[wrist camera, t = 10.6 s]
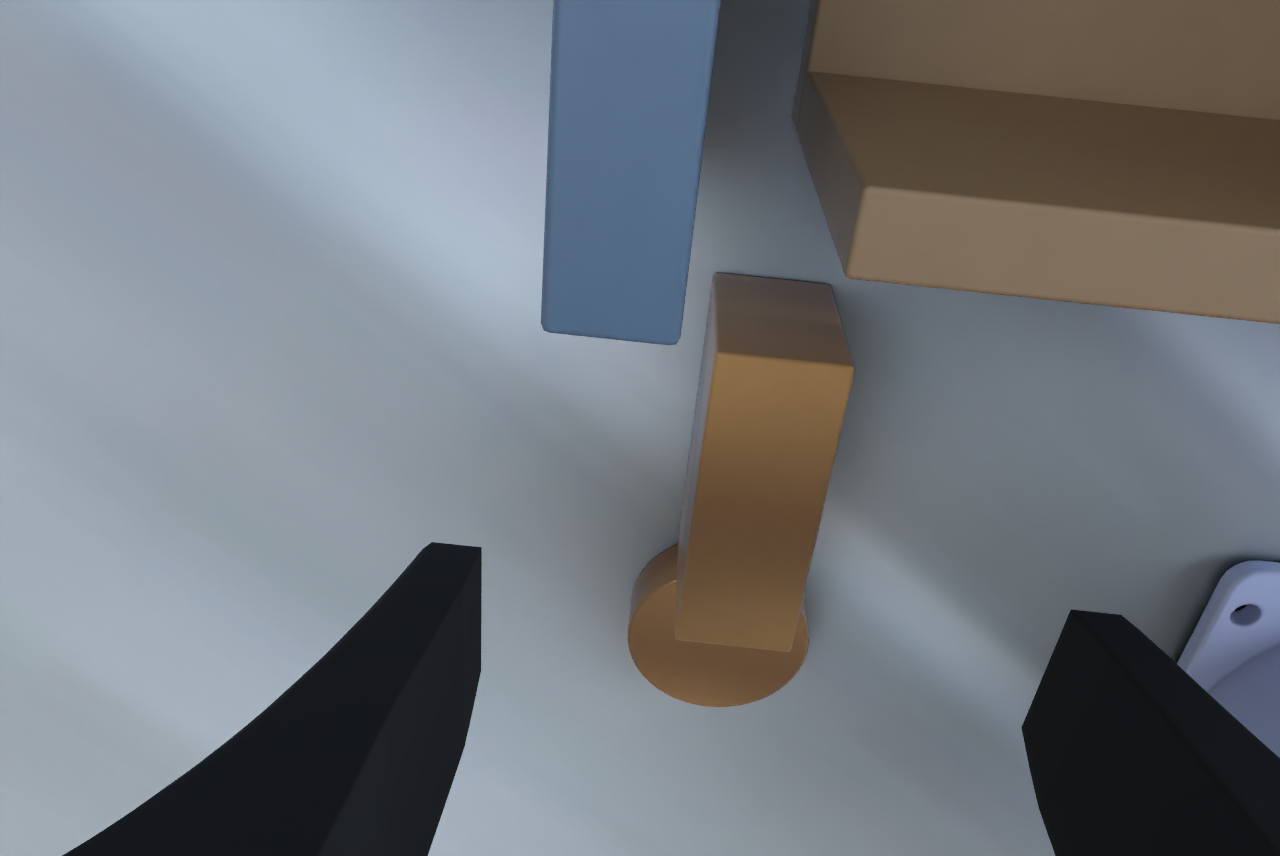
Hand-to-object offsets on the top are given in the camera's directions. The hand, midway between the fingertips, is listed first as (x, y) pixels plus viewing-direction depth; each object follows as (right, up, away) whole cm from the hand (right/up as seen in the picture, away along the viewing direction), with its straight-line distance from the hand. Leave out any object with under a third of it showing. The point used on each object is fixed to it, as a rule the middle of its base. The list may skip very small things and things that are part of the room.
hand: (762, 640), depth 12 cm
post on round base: (0, +2, +6) cm, 6 cm away
